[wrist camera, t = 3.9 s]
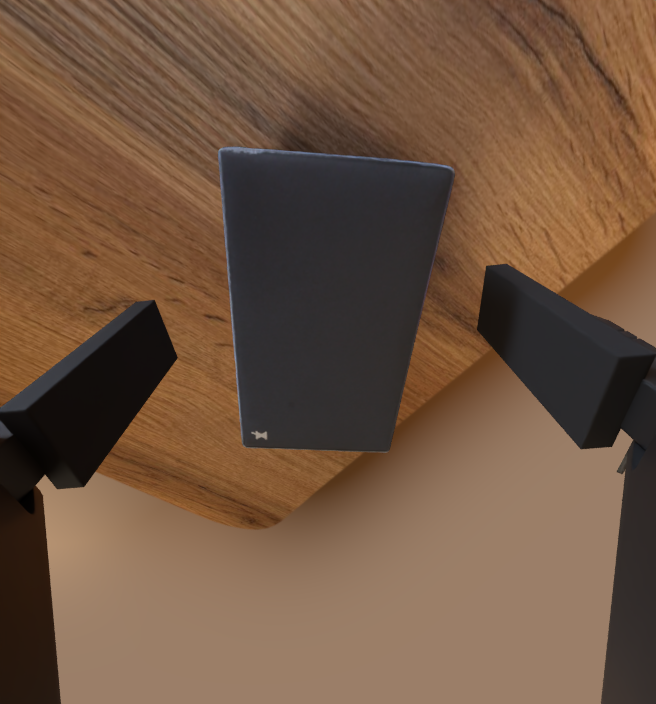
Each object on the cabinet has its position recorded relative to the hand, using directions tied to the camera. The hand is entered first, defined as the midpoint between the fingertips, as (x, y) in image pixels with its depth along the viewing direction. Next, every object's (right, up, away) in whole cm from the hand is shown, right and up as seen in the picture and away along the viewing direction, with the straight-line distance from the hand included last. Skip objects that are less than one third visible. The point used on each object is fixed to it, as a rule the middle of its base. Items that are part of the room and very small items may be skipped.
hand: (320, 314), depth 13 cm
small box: (0, +4, +6) cm, 8 cm away
